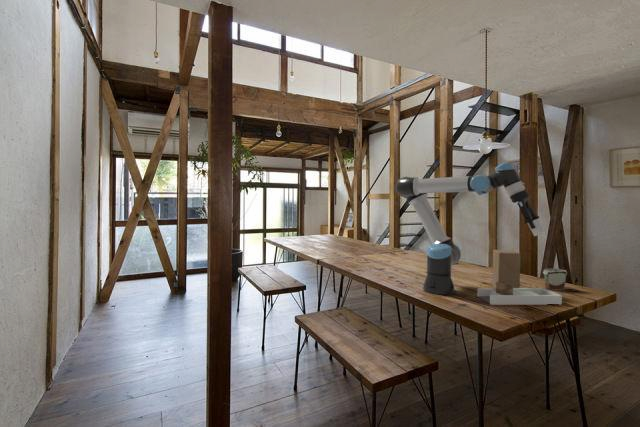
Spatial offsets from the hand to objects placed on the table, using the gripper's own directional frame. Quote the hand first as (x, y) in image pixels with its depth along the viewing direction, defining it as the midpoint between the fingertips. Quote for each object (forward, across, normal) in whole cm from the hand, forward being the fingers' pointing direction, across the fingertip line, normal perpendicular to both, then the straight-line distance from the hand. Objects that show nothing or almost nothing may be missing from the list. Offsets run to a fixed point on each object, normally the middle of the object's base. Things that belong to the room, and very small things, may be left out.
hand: (539, 233), depth 147 cm
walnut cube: (+20, -11, +23) cm, 32 cm away
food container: (+30, +28, +12) cm, 43 cm away
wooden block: (+22, +10, +28) cm, 36 cm away
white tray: (+25, -7, +20) cm, 33 cm away
